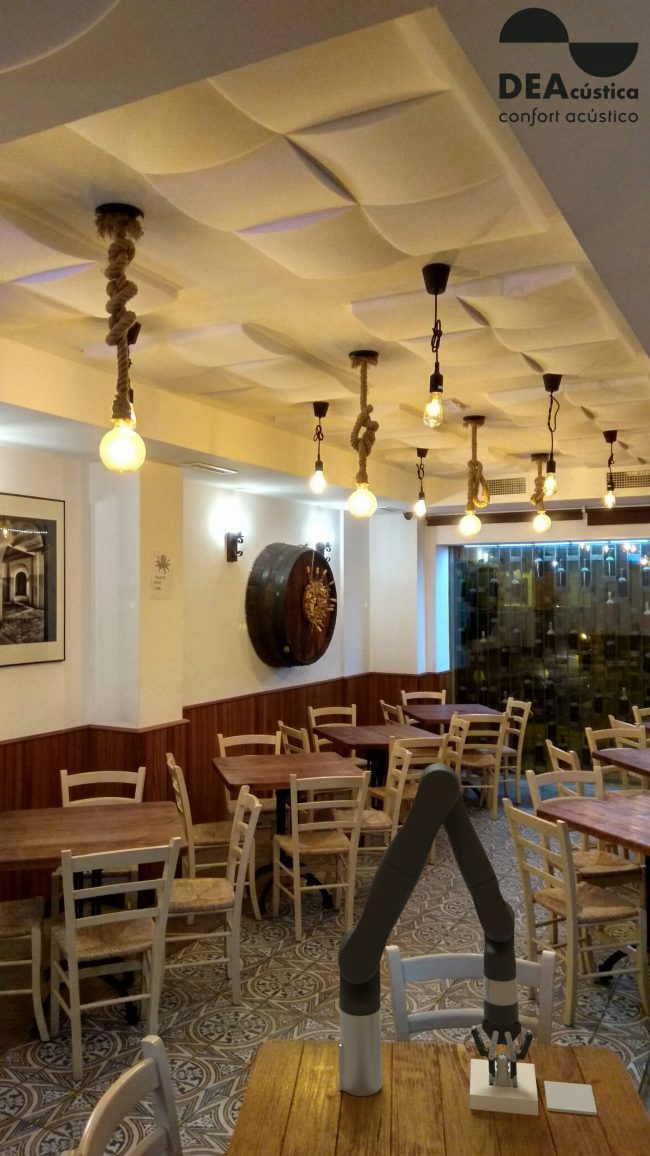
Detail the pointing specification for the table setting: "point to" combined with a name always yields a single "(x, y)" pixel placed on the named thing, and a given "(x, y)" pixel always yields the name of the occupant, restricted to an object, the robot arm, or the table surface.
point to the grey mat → (570, 1098)
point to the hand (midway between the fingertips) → (502, 1075)
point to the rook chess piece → (502, 1071)
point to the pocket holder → (503, 1089)
